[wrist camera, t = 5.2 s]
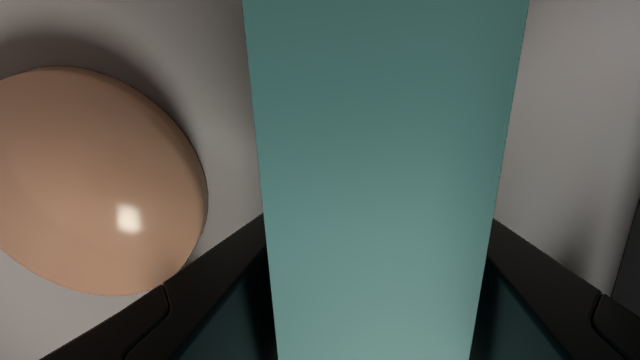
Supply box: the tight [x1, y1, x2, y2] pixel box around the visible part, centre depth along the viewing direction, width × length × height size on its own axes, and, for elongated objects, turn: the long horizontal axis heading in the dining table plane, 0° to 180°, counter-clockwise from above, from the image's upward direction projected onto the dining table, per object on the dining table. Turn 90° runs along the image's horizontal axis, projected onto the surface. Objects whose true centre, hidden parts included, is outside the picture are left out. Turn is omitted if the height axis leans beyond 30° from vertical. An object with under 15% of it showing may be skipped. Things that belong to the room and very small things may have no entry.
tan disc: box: [0, 66, 208, 296], centre depth 11 cm, size 6×6×1 cm
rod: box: [242, 0, 530, 360], centre depth 9 cm, size 3×12×4 cm, turn 2°
